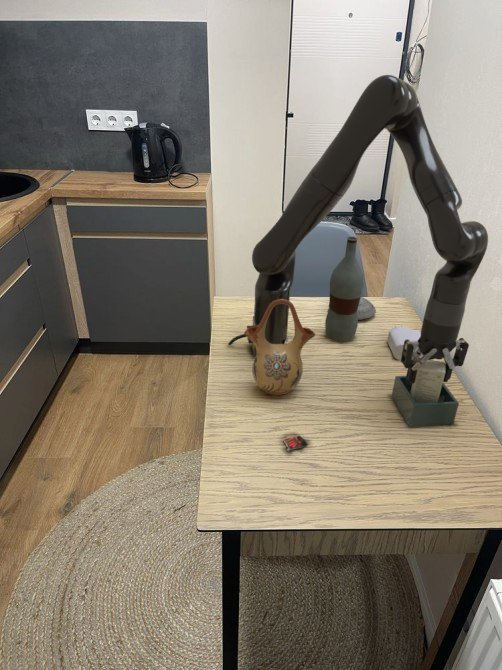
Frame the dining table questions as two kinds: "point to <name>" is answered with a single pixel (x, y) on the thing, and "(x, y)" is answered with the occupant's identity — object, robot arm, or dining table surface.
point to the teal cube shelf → (424, 405)
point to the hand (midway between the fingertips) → (427, 380)
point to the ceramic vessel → (278, 355)
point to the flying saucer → (365, 309)
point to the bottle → (344, 296)
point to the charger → (401, 339)
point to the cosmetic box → (428, 382)
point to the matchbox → (294, 442)
